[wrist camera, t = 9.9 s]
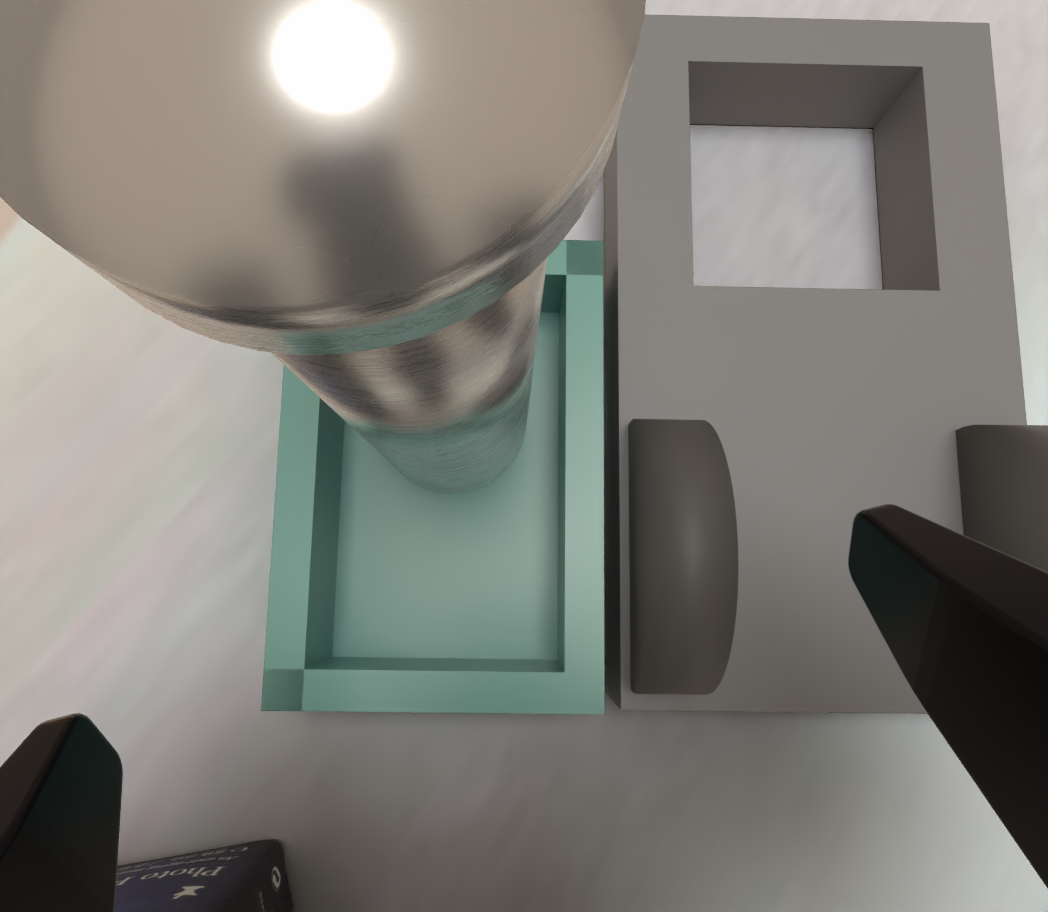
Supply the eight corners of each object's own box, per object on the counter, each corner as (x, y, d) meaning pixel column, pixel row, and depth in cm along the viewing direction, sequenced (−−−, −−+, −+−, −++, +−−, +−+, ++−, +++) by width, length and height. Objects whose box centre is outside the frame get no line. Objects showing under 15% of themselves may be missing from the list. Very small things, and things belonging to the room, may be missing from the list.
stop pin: (569, 472, 18) (761, 158, 4) (396, 535, 18) (19, 415, 4) (506, 307, 19) (501, -420, 5) (337, 366, 19) (-162, -235, 5)
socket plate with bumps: (980, 696, 18) (1185, 748, 13) (605, 692, 18) (648, 742, 13) (932, 89, 21) (1085, -89, 15) (603, 81, 21) (637, -101, 15)
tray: (589, 692, 18) (604, 714, 15) (302, 688, 18) (261, 710, 15) (589, 291, 20) (603, 240, 17) (325, 286, 20) (292, 234, 17)
